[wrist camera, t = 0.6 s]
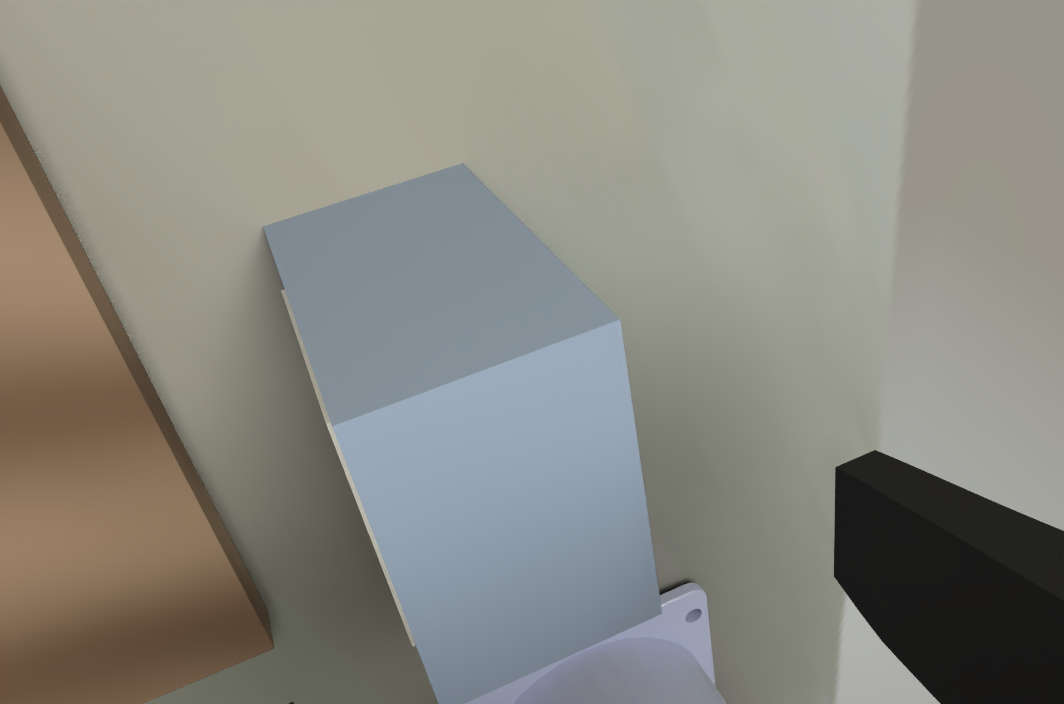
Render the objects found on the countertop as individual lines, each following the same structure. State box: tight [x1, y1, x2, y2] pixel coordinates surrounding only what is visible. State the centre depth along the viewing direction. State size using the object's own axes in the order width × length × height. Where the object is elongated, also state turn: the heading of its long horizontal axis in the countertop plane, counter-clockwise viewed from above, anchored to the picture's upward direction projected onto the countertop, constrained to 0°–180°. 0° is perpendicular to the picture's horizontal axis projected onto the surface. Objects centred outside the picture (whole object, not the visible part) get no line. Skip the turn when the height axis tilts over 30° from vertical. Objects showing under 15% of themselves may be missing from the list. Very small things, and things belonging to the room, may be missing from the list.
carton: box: [263, 163, 662, 704], centre depth 16 cm, size 4×6×7 cm
